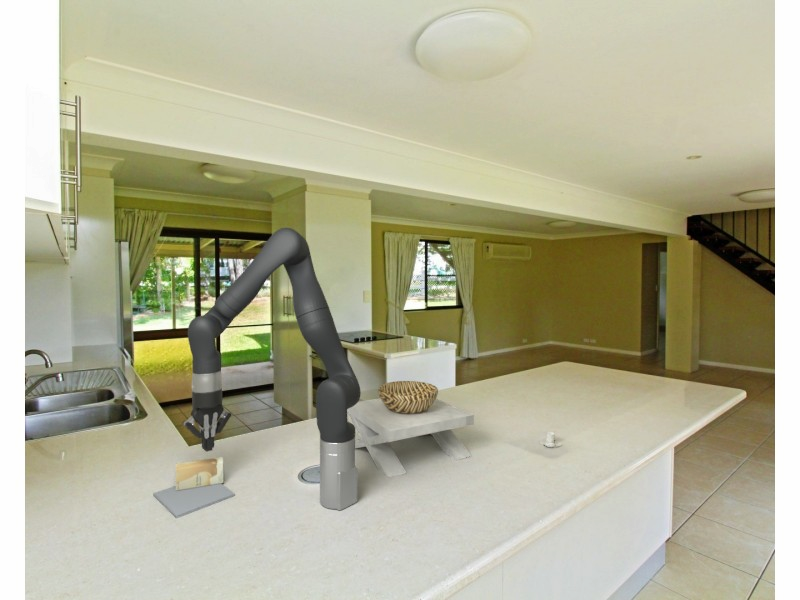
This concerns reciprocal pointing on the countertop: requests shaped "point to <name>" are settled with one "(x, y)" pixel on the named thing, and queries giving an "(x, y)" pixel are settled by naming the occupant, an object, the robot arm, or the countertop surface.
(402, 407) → the wicker basket on stand
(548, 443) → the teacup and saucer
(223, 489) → the mat
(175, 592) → the countertop surface
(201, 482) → the skincare box
